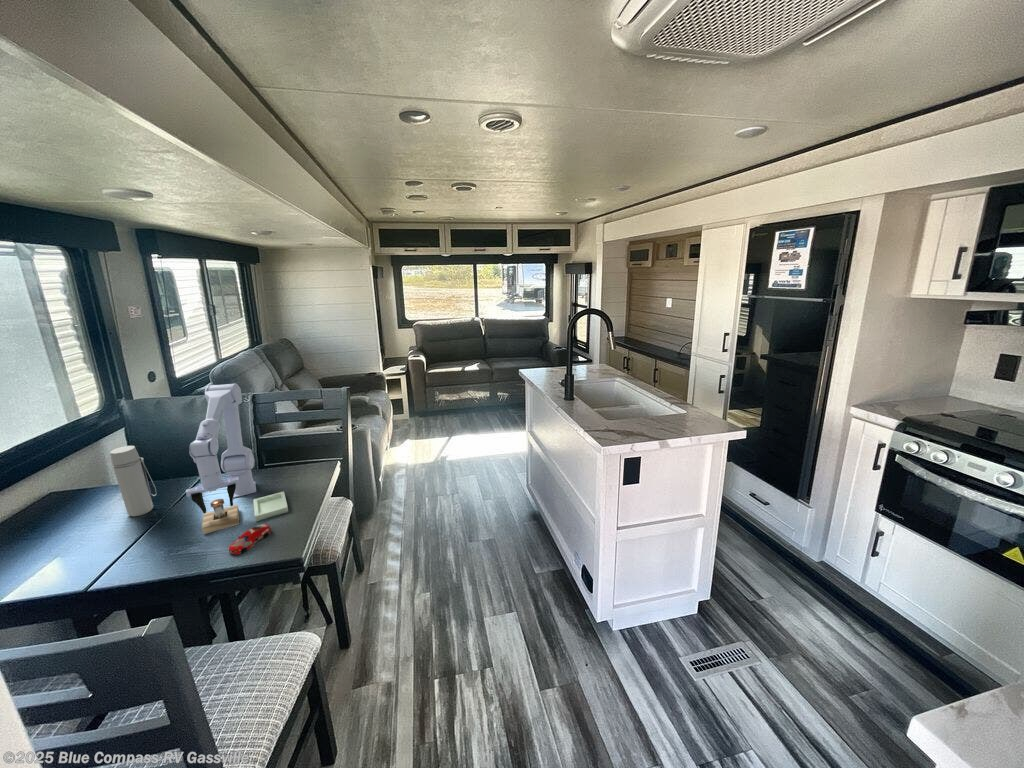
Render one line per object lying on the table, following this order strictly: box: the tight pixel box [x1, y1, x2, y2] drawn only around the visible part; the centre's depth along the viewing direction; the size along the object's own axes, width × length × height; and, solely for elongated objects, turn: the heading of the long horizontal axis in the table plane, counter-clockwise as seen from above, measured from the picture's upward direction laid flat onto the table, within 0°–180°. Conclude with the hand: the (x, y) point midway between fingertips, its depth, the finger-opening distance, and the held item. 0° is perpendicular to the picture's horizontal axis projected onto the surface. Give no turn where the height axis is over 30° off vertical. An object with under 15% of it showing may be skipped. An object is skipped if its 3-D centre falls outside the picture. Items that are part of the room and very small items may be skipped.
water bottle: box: [109, 445, 157, 517], centre depth 146 cm, size 9×8×25 cm
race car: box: [228, 523, 272, 556], centre depth 131 cm, size 13×5×4 cm, turn 159°
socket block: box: [201, 504, 240, 535], centre depth 142 cm, size 10×10×2 cm
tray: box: [252, 490, 289, 522], centre depth 150 cm, size 13×10×2 cm
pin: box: [209, 498, 226, 520], centre depth 141 cm, size 4×4×8 cm
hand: (218, 508), depth 141 cm, fingers open, 7 cm apart
